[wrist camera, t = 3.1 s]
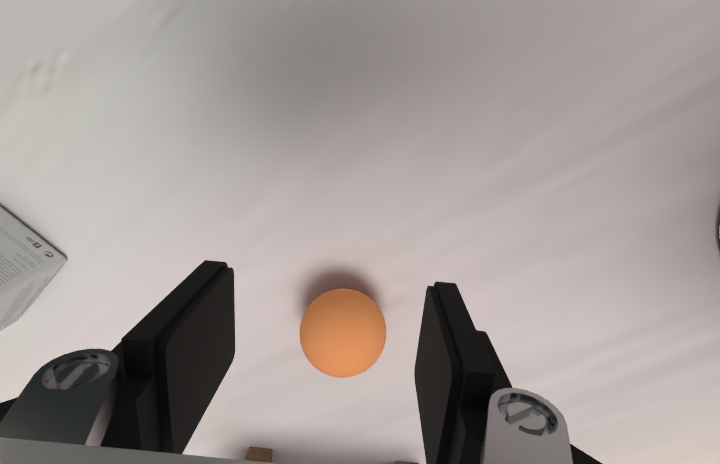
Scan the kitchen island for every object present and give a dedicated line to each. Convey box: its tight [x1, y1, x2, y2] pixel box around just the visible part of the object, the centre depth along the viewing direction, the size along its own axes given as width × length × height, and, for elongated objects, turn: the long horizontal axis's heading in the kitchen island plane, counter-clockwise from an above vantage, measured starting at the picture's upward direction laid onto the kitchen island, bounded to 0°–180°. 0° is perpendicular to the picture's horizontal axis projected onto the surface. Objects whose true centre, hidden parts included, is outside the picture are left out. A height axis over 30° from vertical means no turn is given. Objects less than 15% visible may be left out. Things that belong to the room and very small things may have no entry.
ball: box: [300, 288, 386, 378], centre depth 28 cm, size 6×6×6 cm
